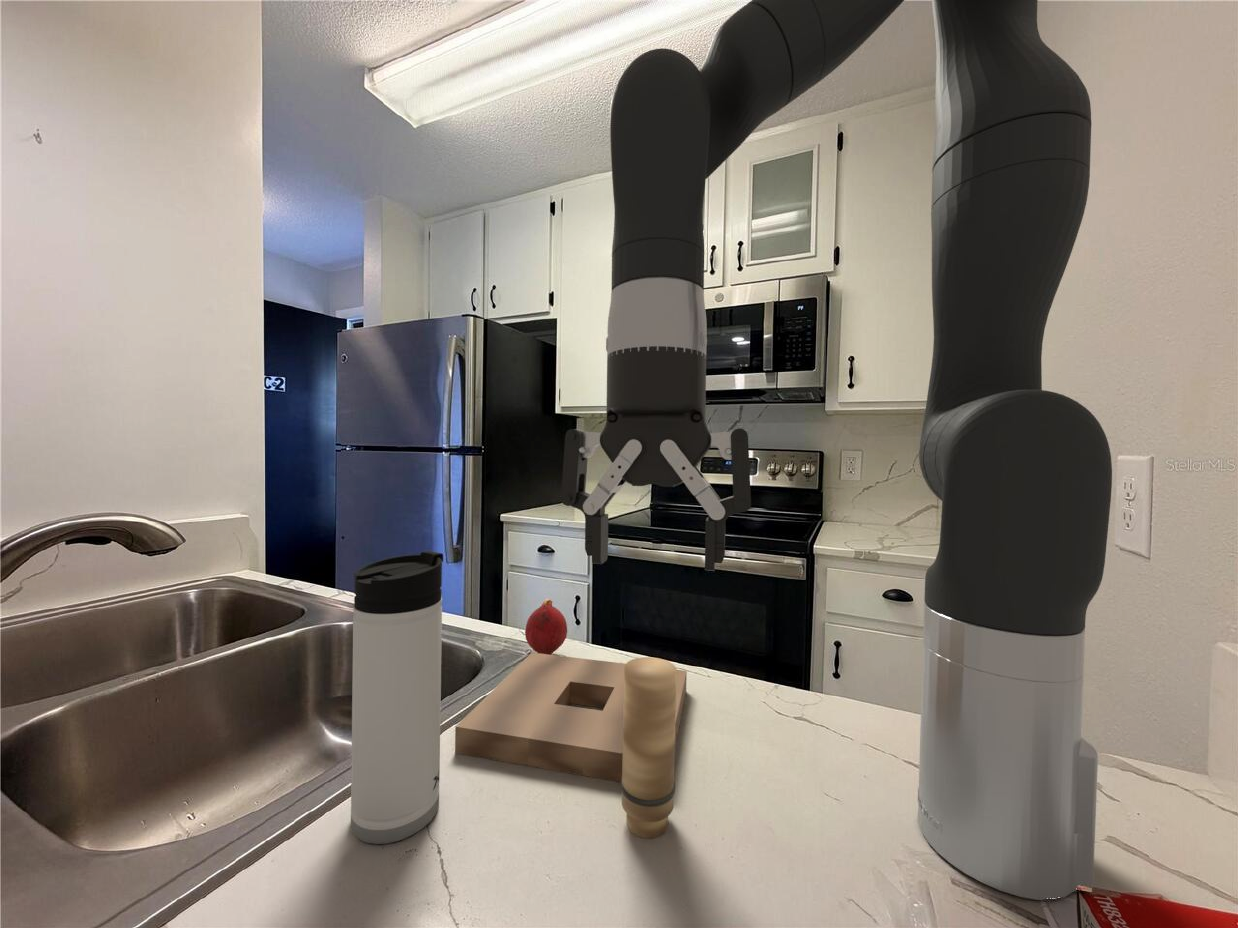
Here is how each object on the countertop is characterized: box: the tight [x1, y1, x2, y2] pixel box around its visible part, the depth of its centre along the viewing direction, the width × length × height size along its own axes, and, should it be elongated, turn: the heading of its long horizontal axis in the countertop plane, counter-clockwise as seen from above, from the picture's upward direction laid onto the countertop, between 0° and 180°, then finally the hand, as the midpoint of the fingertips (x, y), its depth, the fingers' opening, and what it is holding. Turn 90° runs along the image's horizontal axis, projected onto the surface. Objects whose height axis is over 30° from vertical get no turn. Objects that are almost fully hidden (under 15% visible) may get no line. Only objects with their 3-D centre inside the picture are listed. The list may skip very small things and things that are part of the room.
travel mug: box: [350, 550, 444, 845], centre depth 38 cm, size 6×7×20 cm
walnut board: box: [454, 652, 688, 783], centre depth 53 cm, size 20×18×2 cm
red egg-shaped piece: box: [524, 598, 568, 655], centre depth 68 cm, size 6×6×8 cm
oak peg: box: [620, 656, 678, 839], centre depth 38 cm, size 4×4×12 cm
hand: (653, 565), depth 38 cm, fingers open, 8 cm apart
